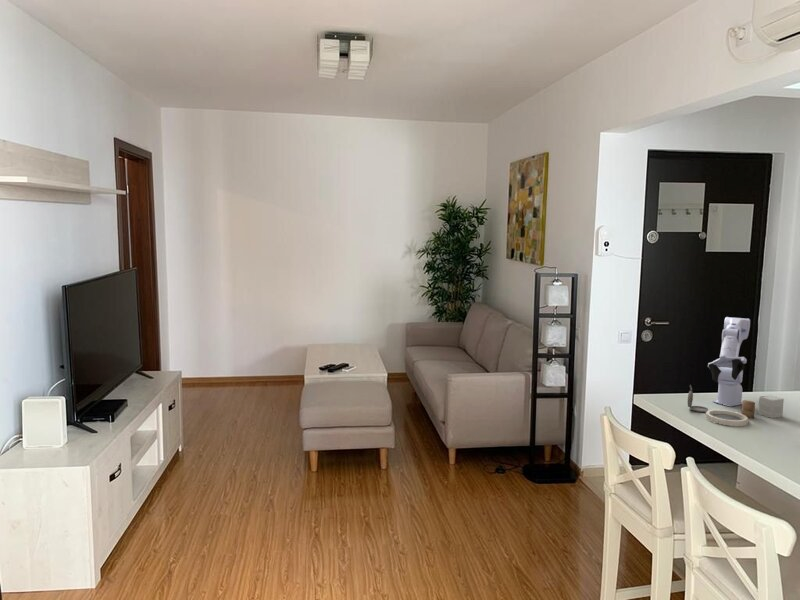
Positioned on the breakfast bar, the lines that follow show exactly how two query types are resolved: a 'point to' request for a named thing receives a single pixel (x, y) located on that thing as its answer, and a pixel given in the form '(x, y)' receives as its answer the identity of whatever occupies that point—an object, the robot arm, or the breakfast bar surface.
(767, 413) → the skincare box
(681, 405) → the breakfast bar surface
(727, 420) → the round tray
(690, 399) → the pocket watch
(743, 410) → the walnut cylinder
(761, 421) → the breakfast bar surface
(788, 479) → the breakfast bar surface
